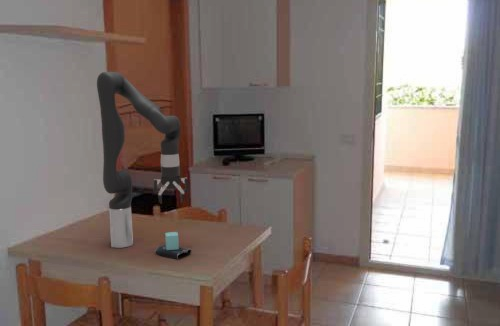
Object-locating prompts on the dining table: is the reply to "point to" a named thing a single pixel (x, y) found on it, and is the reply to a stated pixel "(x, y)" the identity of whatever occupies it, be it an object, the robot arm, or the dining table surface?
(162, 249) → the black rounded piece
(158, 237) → the dining table surface
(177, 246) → the teal block
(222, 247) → the dining table surface
